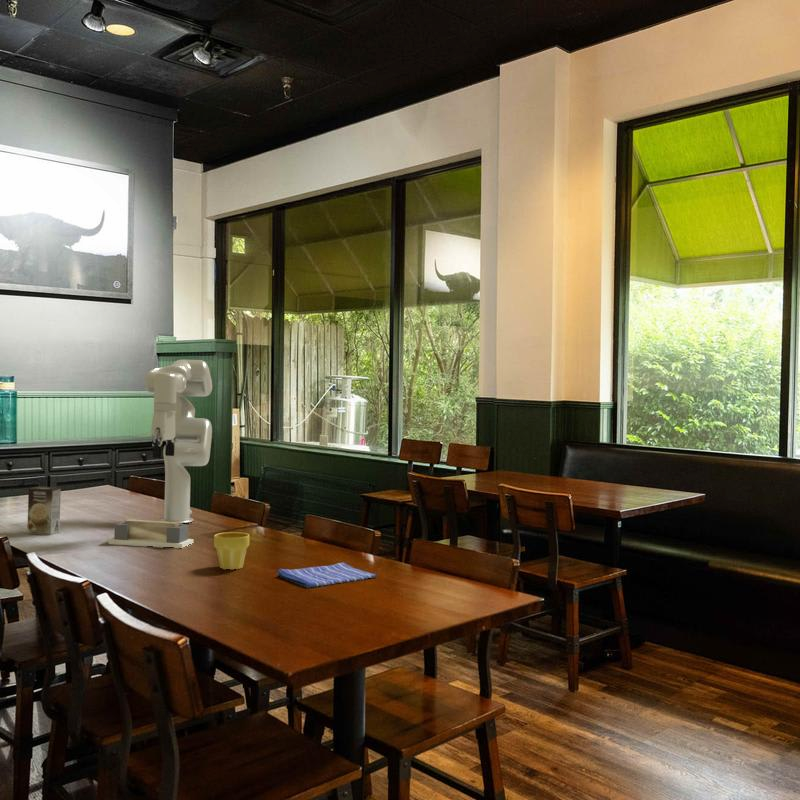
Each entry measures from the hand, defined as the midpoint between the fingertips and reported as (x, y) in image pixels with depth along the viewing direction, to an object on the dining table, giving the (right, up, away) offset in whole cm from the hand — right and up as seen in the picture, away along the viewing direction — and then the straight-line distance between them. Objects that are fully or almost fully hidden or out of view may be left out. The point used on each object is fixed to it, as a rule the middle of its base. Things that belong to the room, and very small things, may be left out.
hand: (163, 456), depth 283 cm
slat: (-1, -27, -12) cm, 29 cm away
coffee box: (-43, -27, +2) cm, 51 cm away
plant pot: (+33, -30, -43) cm, 62 cm away
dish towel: (+62, -32, -52) cm, 87 cm away
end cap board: (-1, -28, -12) cm, 31 cm away
